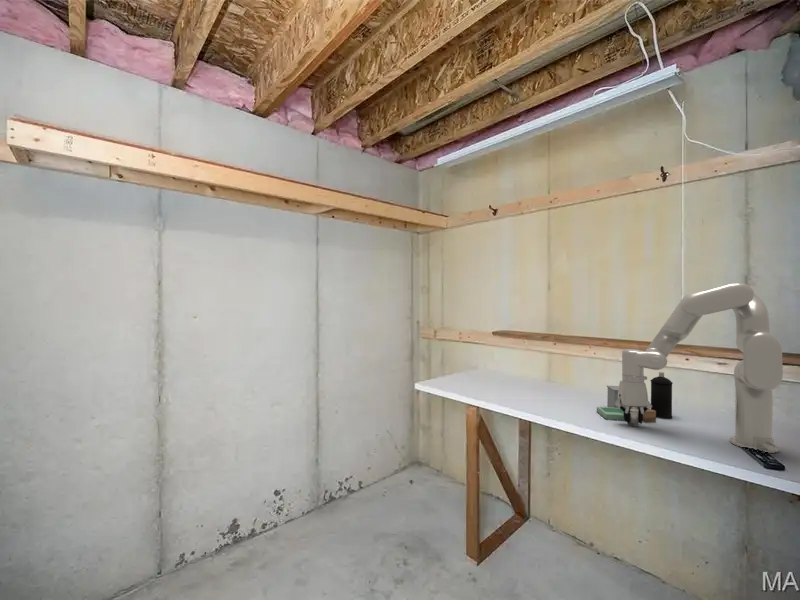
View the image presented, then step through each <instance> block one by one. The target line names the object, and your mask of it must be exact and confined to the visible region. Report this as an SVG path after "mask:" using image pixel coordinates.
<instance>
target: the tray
mask: <svg viewBox="0 0 800 600" xmlns="http://www.w3.org/2000/svg"><path fill="white" fill-rule="evenodd" d="M596 412H598V414H599V415H600V416H601V417H602V418H603V419H604V420H606V421H617V420H618V421H620V422H626V421H625V420H624V412H623V411H622V410H621V409H620V408H612V407H607V406H596Z"/></svg>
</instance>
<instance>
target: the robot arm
mask: <svg viewBox="0 0 800 600" xmlns="http://www.w3.org/2000/svg"><path fill="white" fill-rule="evenodd" d="M729 310H733V313H734V315H735V316H734V317H735V322H736V323H735V324H736V325H735V327H736V330H735V331H736V338H735V339H736V340H735V342H736V343H735V344H736V347H737V349H738V350H739V351H740V352H742V360H740V361H739V362H738V363H736V364H735V366H734V370H733V377H734V386H735V401H734V402H735V404H734V405H735V407H734V408H735V409H734V411H735V415H734V416H735V417H734V419H735V420H734V422H735V423H734V435H732V436H730V437H729V439H728V440H729V442H730V443H731V444H732V445H735V446H737V447H739V446H740V447H739V448H742V447H749V448H754V449H759V450H763V451H766V452H768V454H775V452H776V453H778V452H779V449H780V446H779V445H777V444H775V439H774V438H773V406H774V404H773V402H774V401H773V398H774V395H773V390H775V389H777V388H778V387H779V386H780V385H781V384H782V381H783V376H784V375H783V368H784V367H783V349H782V343H781V342H780V340H779V339H778V338H777V336H776V335H774V334H772V333H771V331H770V330H771V329H770V319H769V312H768V308H767V306H766V304H765V303H764V301H763V299H761V298H760V296H758V295H757V294H756V293H755V292H754V289H753V288H752V287H751V286H750V285H749V284H746V283H743V282H729V283H725V284H723V285H720V286H719V287H714V288H711V289H709V290H707V289H706V290H703V291H698V292H694V293H693V292H692V293H688V294H686V295H685V296H684V297H683V298H682V299H681V300H680V301H679V303H678V304H677V306H676V307H675V308H674V310H673V311H672V313H671V314H670V315H669V317H668V319H667V320H666V321H665V322H664V324H663V325H662V327H661V328H660V330H659V331H658V333H656V335H655V337H654V338H653V339H652V340H651V342H650V344H649V345H648V346H647V348H646V349H645V351H642V350H641V349H635V348H625V349H623V350H622V352H621V359H622V360H621V361H622V362H621V366H622V367H621V368H622V369H621V371H622V372H621V373H622V374H621V380H620V381H619V383H618V386H619V389H618V400H617V401H616V402H615V405H616V406H617V407H619V408H620V409H621V410H622V411H623V412H624V420H625V421H624V422H626V423H627V424H628V423H630V414H629V413H628V411H629V406H634V407H639V425H640V424H641V425H642V424H643V422H642V421H643V414H644V412H645V411H647V409H651V407H652V405H651V401H649V396H648V388H647V384H646V382H645V380H646V381H647V380H648V376H645V375H644V374H645V372H644V368H645V369H648V370H649V369H650V370H653V371H654V370H655V371H659V370H663V369H665V367H666V366H667V365H668V359H667V357H668V356H669V354H670V353H671V352H672V350H673V349H674V348H675V347H676V346H677V345H678V344H679V343H680V342H682V341H683V340H685V339H686V338H687V337H688V336H689V335H690V333H691V332H692V331H693V330H694V328H695V326H696V325H697V324H698V322H699V321H700V320H701V318H702V317H703V316H705V315H711V314H714V313H719V312H722V311H723V312H725V311H729ZM620 403H622V405H623V406H621V405H620Z"/></svg>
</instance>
